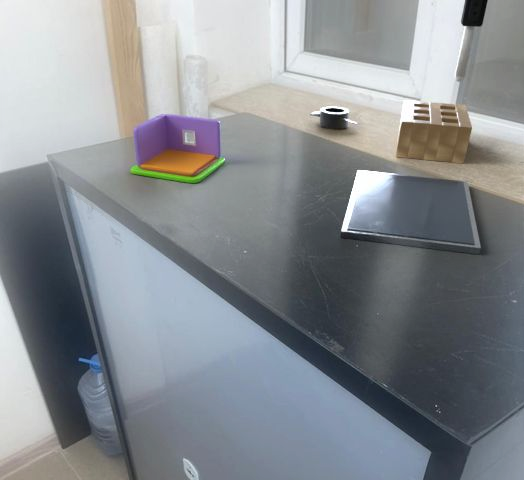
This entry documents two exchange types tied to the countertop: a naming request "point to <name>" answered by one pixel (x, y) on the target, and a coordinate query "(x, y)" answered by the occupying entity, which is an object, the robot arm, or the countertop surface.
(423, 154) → the pen stand
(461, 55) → the stylus
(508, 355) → the countertop surface
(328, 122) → the black ring with handles
